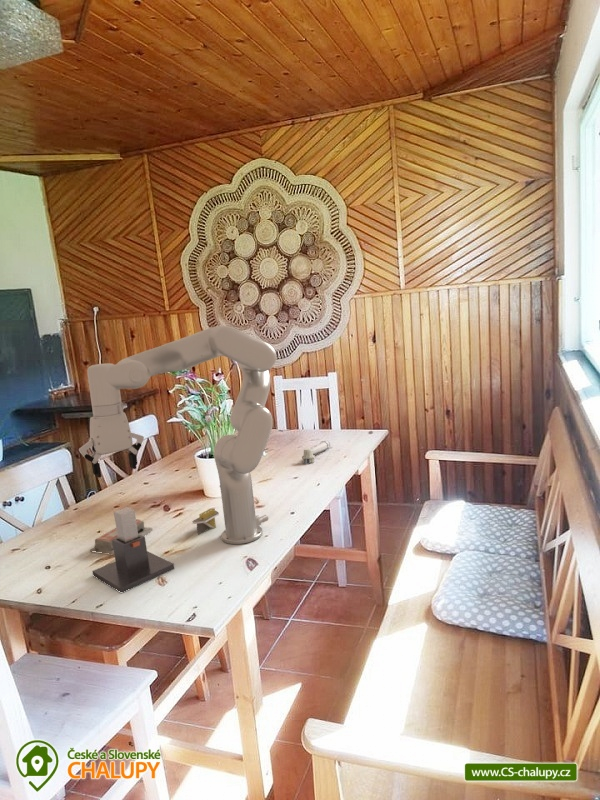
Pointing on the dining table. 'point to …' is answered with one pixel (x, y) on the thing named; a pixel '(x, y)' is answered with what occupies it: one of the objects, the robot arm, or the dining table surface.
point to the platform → (206, 520)
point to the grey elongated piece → (314, 451)
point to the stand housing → (132, 565)
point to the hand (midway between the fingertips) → (116, 472)
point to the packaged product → (105, 540)
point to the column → (126, 525)
